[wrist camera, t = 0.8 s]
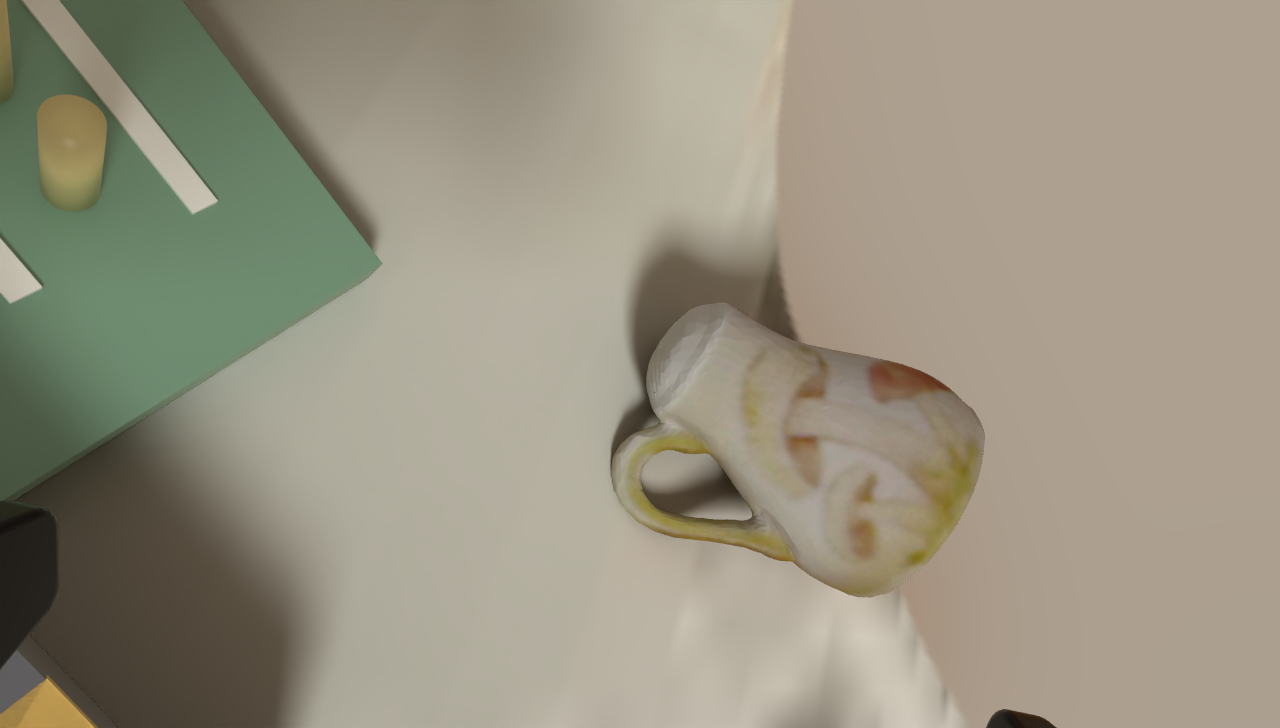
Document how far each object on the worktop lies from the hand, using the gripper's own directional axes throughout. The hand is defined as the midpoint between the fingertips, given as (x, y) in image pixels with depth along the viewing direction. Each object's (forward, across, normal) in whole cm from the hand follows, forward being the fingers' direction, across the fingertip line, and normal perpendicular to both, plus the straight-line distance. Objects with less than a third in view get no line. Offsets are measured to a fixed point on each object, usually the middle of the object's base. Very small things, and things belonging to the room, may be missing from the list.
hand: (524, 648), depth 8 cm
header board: (+11, +14, -2) cm, 18 cm away
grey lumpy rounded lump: (+18, -4, +5) cm, 20 cm away
